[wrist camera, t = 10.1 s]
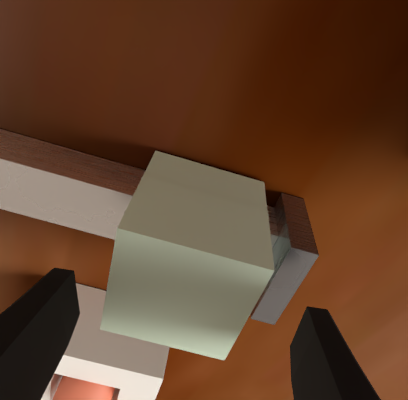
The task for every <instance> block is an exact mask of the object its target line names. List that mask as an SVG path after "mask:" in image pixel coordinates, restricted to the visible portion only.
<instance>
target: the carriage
mask: <svg viewBox="0 0 408 400" xmlns="http://www.w3.org/2000/svg"><path fill="white" fill-rule="evenodd" d="M273 273H274V262H273V252H272V243H271V234H270V225H269V216H268V211H267V203H266V194H265V184H264V182H262V181H258V180H255V179H252V178H248V177H245V176H241V175H238V174H234V173H231V172H228V171H224V170H221V169H217V168H214V167H210V166H207V165H204V164H200V163H197V162H193V161H190V160H186V159H183V158H180V157H176V156H173V155H169V154H166V153H162V152H159V151H156V150H155V153H154V155H153V157H152V159H151V161H150V163H149V165H148V167H147V169H146V171H145V173H144V175H143V176H142V178H141V180H140V183H139V185H138V187H137V189H136V191H135V193H134V195H133V197H132V199H131V201H130V203H129V205H128V207H127V209H126V211H125V213H124V215H123V217H122V219H121V221H120V223H119V225H118V227H117V232H116V238H115V244H114V250H113V256H112V261H111V267H110V273H109V279H108V285H107V291H106V297H105V302H104V308H103V314H102V320H101V326H100V330H104V331H108V332H112V333H116V334H120V335H124V336H128V337H132V338H136V339H140V340H144V341H148V342H152V343H156V344H160V345H164V346H168V347H172V348H176V349H180V350H184V351H188V352H192V353H196V354H200V355H204V356H208V357H212V358H216V359H220V360H225V358H226V357H227V355H228V353H229V351H230V349H231V348H232V346H233V344H234V342H235V340H236V339H237V337H238V335H239V333H240V332H241V330H242V328H243V326H244V324H245V323H246V321H247V319H248V317H249V315H250V314H251V312H252V310H253V308H254V307H255V305H256V303H257V301H258V299H259V298H260V296H261V294H262V292H263V290H264V289H265V287H266V285H267V283H268V281H269V280H270V278H271V276H272V274H273Z"/></svg>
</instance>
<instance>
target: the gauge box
mask: <svg viewBox="0 0 408 400" xmlns="http://www.w3.org/2000/svg"><path fill="white" fill-rule="evenodd" d="M76 288H77V295H78V302H79V309H80V315H79V318H78V321H77V324H76V326H75V329H74V332H73V334H72V337H71V339H70V342H69V345H68V347H67V349H66V351H65V353H64V355H63V357H62V359H61V361H60V363H59V365H58V367H57V369H56V371H55V373H54V375H53V377H52V379H51V380H50V382H49V384H48V386H47V388H46V390H45V392H44V394H43V396H42V398H41V400H52V399H53V397H54V394H55V392H56V390H57V388H58V385H59V383H60V381H61V379H62V376H67V377H72V378H76V379H80V380H84V381H88V382H93V383H97V384H101V385H105V386H110V387H114V388H115V390H114V393H113V396H112V399H111V400H155V398H156V396H157V393H158V391H159V388H160V386H161V383H162V381H163V377H164V372H165V367H166V362H167V357H168V352H169V347H168V346H164V345H160V344H156V343H152V342H148V341H144V340H140V339H136V338H132V337H128V336H124V335H120V334H116V333H112V332H108V331H104V330H100V326H101V320H102V314H103V308H104V302H105V297H106V291H104V290H101V289H97V288H93V287H89V286H85V285H81V284H77V283H76Z"/></svg>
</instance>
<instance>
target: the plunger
mask: <svg viewBox="0 0 408 400" xmlns="http://www.w3.org/2000/svg"><path fill="white" fill-rule="evenodd" d="M114 390H115V388H114V387H110V386H105V385H101V384H97V383H93V382H88V381H84V380H80V379H76V378H72V377H67V376H62V379H61V381H60V383H59V385H58V388H57V390H56V392H55V394H54V397H53V399H52V400H111V399H112V396H113V393H114Z"/></svg>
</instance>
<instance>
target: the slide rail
mask: <svg viewBox="0 0 408 400" xmlns="http://www.w3.org/2000/svg"><path fill="white" fill-rule="evenodd" d="M145 171H146V170H142V169H139V168H135V167H132V166H128V165H125V164H121V163H118V162H114V161H111V160H107V159H104V158H100V157H97V156H93V155H90V154H86V153H83V152H79V151H76V150H72V149H69V148H65V147H62V146H59V145H55V144H52V143H48V142H45V141H41V140H38V139H34V138H31V137H27V136H24V135H20V134H17V133H13V132H10V131H6V130H3V129H0V209H3V210H6V211H10V212H14V213H18V214H21V215H25V216H29V217H32V218H36V219H40V220H44V221H47V222H51V223H55V224H58V225H62V226H66V227H70V228H73V229H77V230H81V231H84V232H88V233H92V234H96V235H99V236H103V237H107V238H110V239H114V240H115V238H116V232H117V227H118V225H119V223H120V221H121V219H122V217H123V215H124V213H125V211H126V209H127V207H128V205H129V203H130V201H131V199H132V197H133V195H134V193H135V191H136V189H137V187H138V185H139V183H140V180H141V178H142V176H143V175H144V173H145ZM267 211H268V216H269V225H270V234H271V243H272V252H273V262H274V273H273V274H272V276H271V278H270V280H269V281H268V283H267V285H266V287H265V289H264V290H263V292H262V294H261V296H260V298H259V299H258V301H257V303H256V305H255V307H254V308H253V310H252V312H251V319H254V320H258V321H262V322H266V323H270V324H273V325H274V324H275V323H276V321H277V320H278V318H279V317H280V315H281V314H282V312H283V310H284V309H285V307H286V306H287V304H288V303H289V301H290V299H291V298H292V296H293V295H294V293H295V292H296V290H297V289H298V287H299V285H300V284H301V282H302V281H303V279H304V278H305V276H306V275H307V273H308V271H309V270H310V268H311V267H312V265H313V264H314V262H315V260H316V259H317V257H318V256H319V254H318V250H317V246H316V243H315V239H314V235H313V232H312V228H311V224H310V221H309V217H308V213H307V210H306V206H305V202H304V199H302V198H298V197H295V196H292V195H288V194H285V193H281V194H280V196H279V198H278V201H277V203H276V205H275V207H271V206H268V205H267Z"/></svg>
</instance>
